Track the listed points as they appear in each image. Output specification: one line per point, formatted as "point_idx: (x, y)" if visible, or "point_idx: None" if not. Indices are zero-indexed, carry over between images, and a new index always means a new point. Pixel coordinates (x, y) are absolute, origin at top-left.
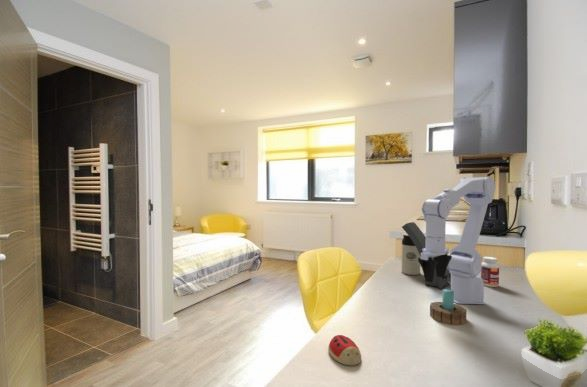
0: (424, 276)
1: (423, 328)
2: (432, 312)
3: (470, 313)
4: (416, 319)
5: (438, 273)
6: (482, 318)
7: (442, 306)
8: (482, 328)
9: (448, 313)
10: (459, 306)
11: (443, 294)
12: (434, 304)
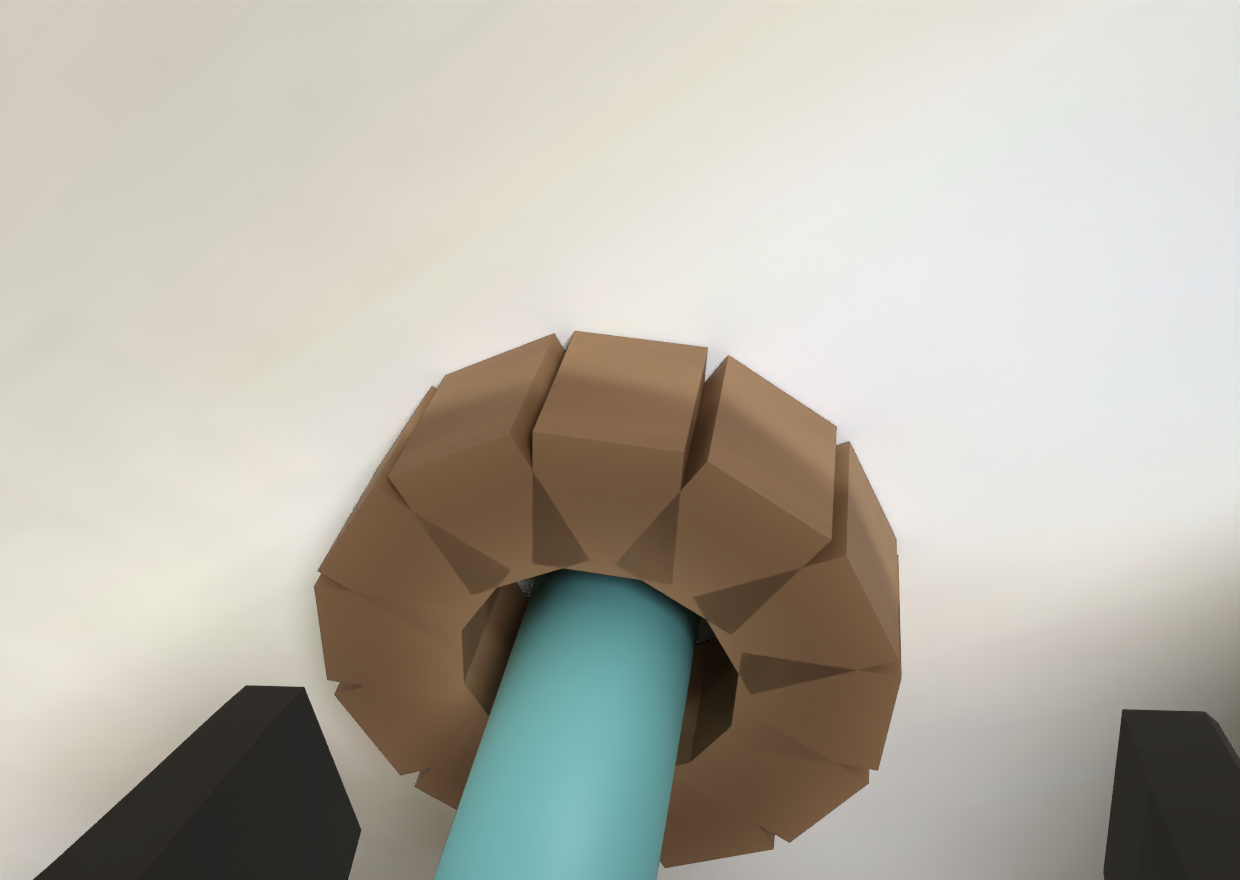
0: (142, 786)
1: (25, 527)
2: (357, 505)
3: (1120, 684)
4: (118, 339)
5: (1141, 867)
6: (1045, 815)
7: (534, 628)
8: (700, 874)
9: (386, 756)
10: (828, 759)
11: (450, 841)
12: (513, 498)
